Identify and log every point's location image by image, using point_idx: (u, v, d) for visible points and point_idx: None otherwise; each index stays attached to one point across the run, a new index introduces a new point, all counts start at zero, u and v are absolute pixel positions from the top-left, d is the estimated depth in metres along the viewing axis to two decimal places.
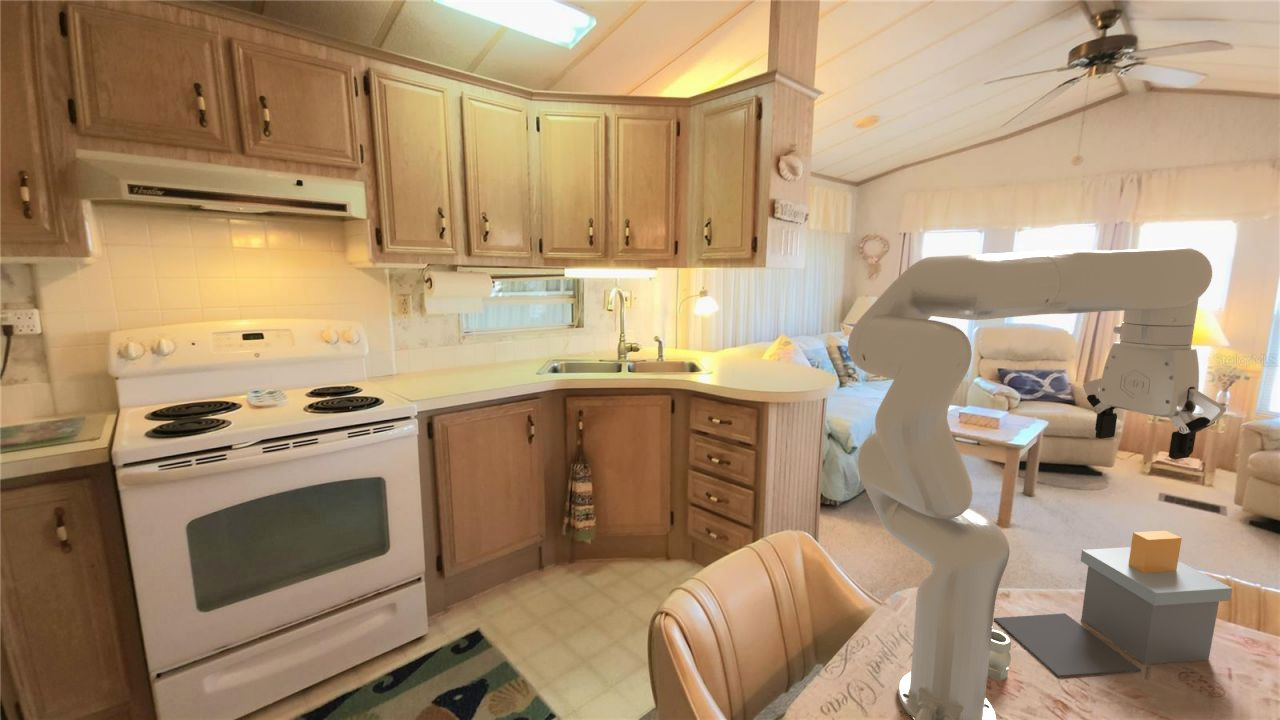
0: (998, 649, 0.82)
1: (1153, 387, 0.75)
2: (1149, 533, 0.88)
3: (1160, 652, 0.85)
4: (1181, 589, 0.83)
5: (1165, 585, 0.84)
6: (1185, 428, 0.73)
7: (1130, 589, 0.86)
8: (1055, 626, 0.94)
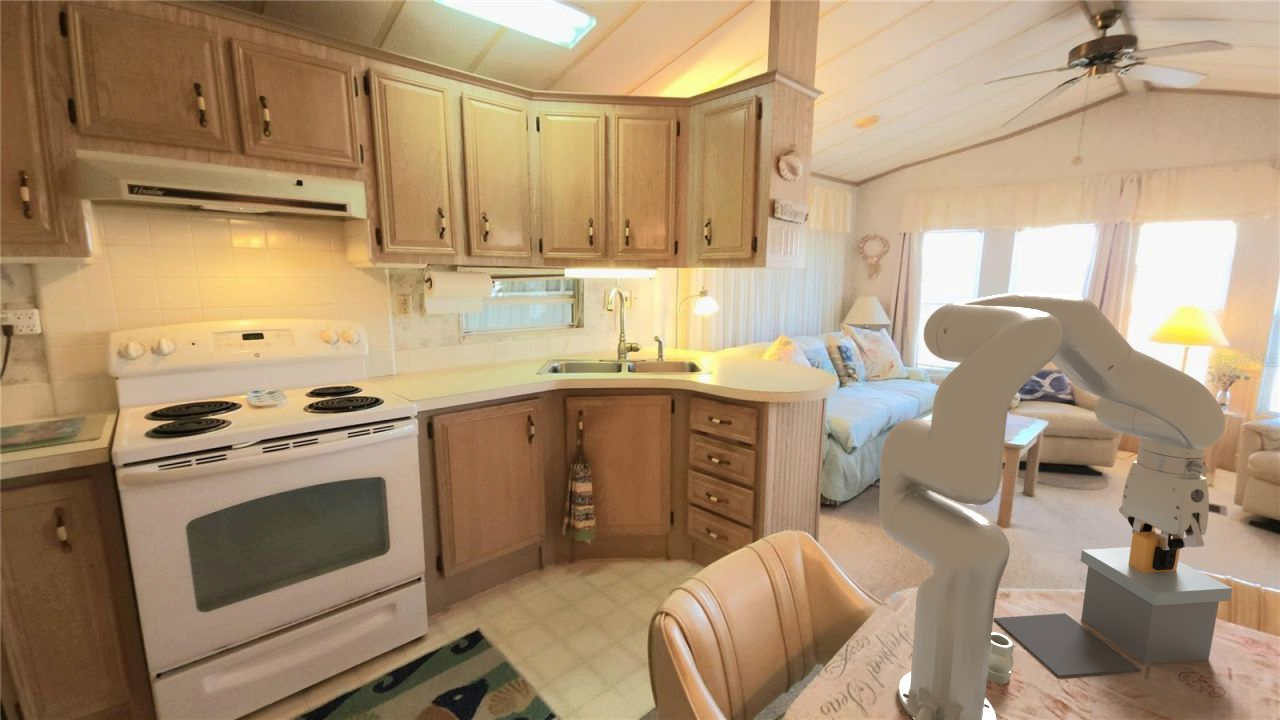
0: (1001, 652, 0.81)
1: None
2: (1149, 533, 0.88)
3: (1160, 652, 0.85)
4: (1181, 589, 0.83)
5: (1165, 585, 0.84)
6: None
7: (1130, 589, 0.86)
8: (1055, 626, 0.94)
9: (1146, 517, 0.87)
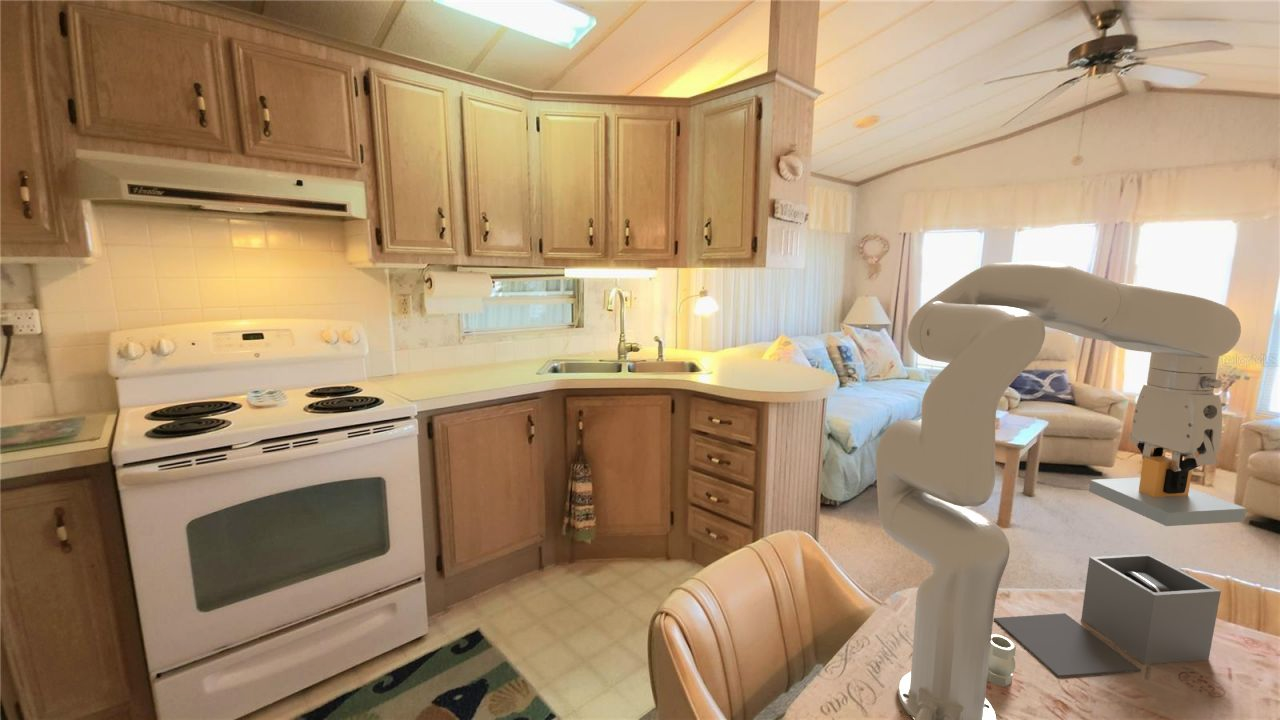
0: (1003, 655, 0.81)
1: None
2: (1160, 457, 0.86)
3: (1160, 652, 0.85)
4: (1194, 509, 0.81)
5: (1177, 506, 0.82)
6: None
7: (1141, 513, 0.84)
8: (1055, 626, 0.94)
9: (1157, 439, 0.85)
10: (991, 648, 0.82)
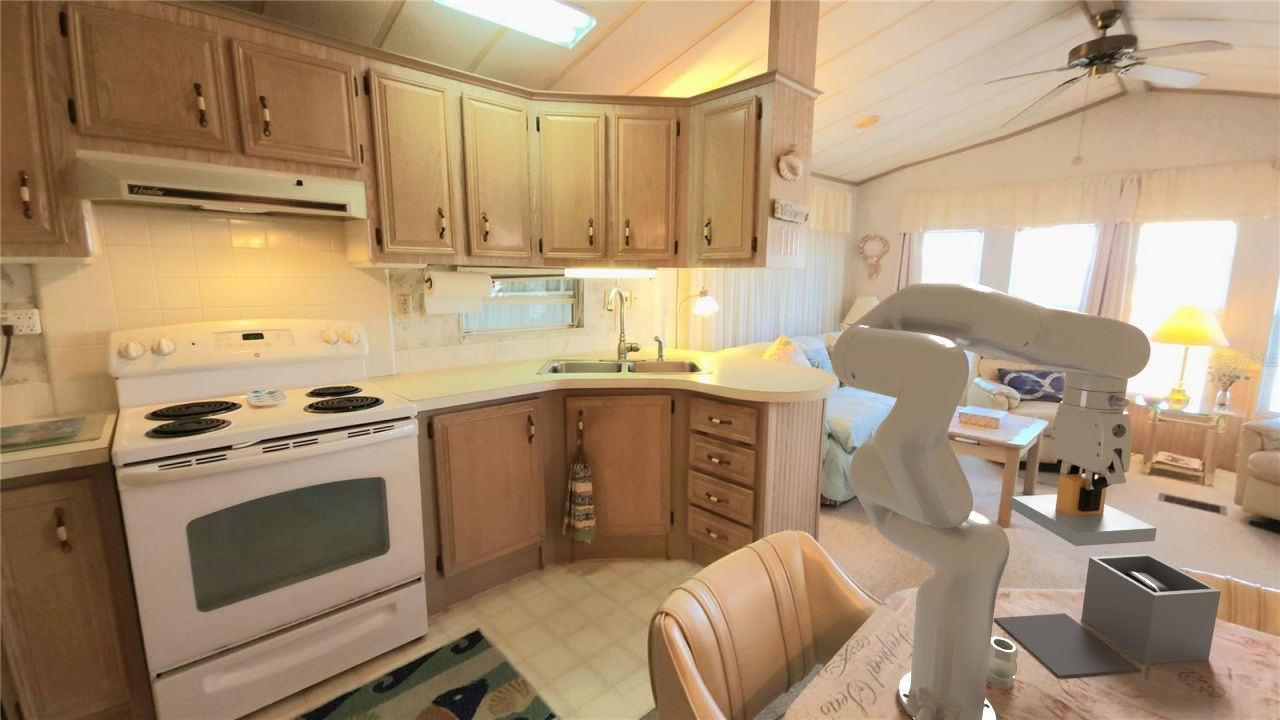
0: (1005, 657, 0.80)
1: None
2: (1075, 475, 0.86)
3: (1160, 652, 0.85)
4: (1104, 529, 0.80)
5: (1088, 526, 0.81)
6: None
7: (1054, 532, 0.83)
8: (1055, 626, 0.94)
9: (1071, 457, 0.85)
10: (993, 650, 0.81)
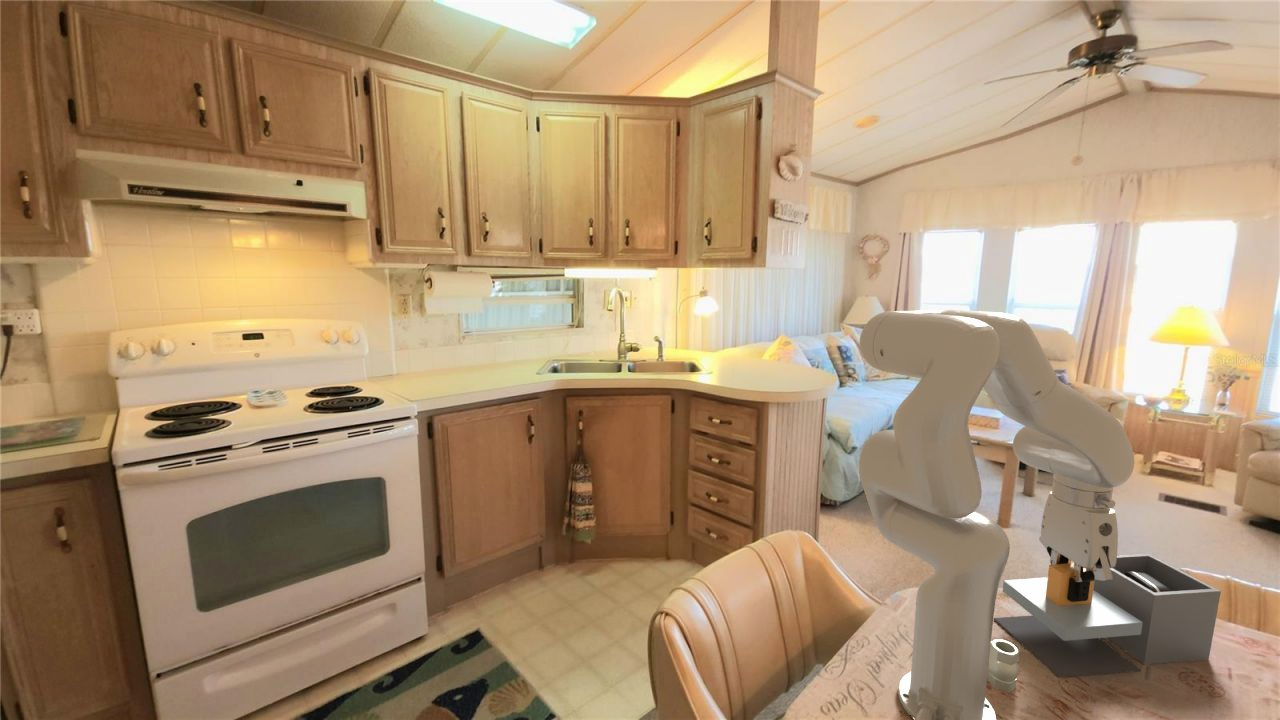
0: (1007, 660, 0.80)
1: None
2: (1065, 565, 0.89)
3: (1160, 652, 0.85)
4: (1091, 624, 0.83)
5: (1076, 619, 0.84)
6: None
7: (1044, 623, 0.86)
8: None
9: (1061, 548, 0.87)
10: (995, 653, 0.81)
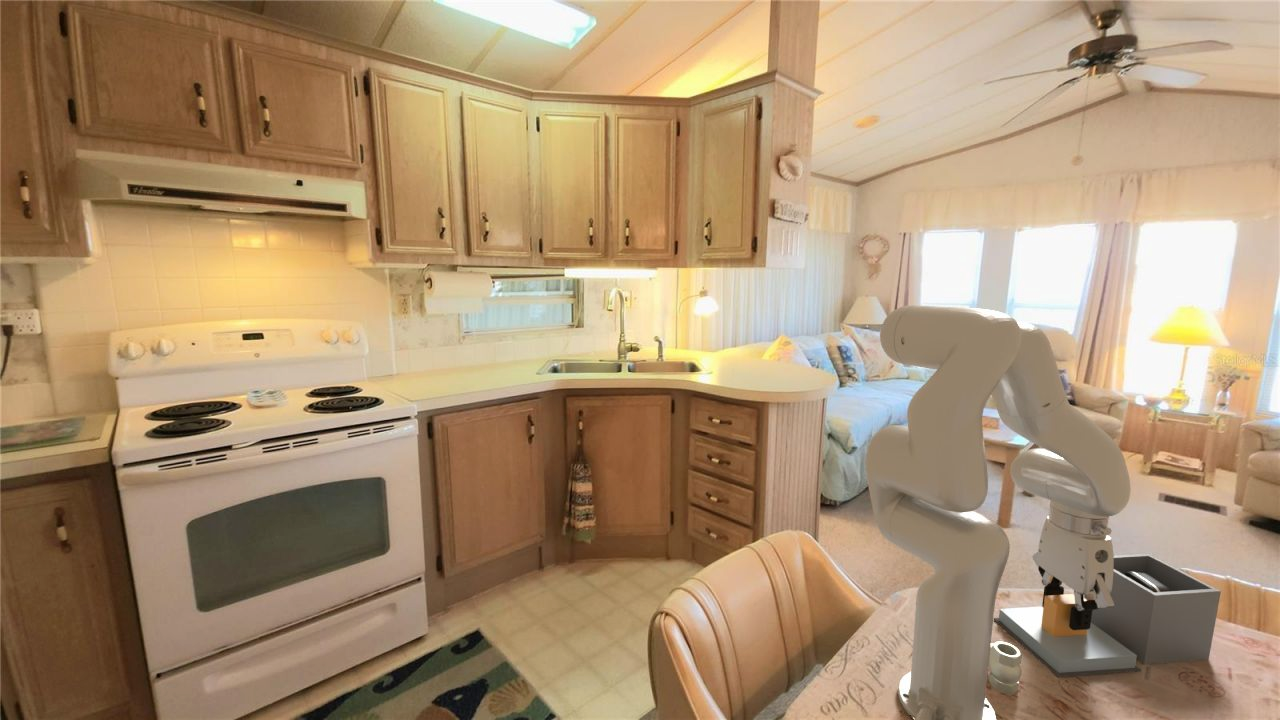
0: (1009, 662, 0.79)
1: None
2: (1060, 597, 0.89)
3: (1160, 652, 0.85)
4: (1086, 656, 0.84)
5: (1071, 651, 0.85)
6: None
7: (1039, 654, 0.87)
8: None
9: (1057, 573, 0.88)
10: (997, 656, 0.80)
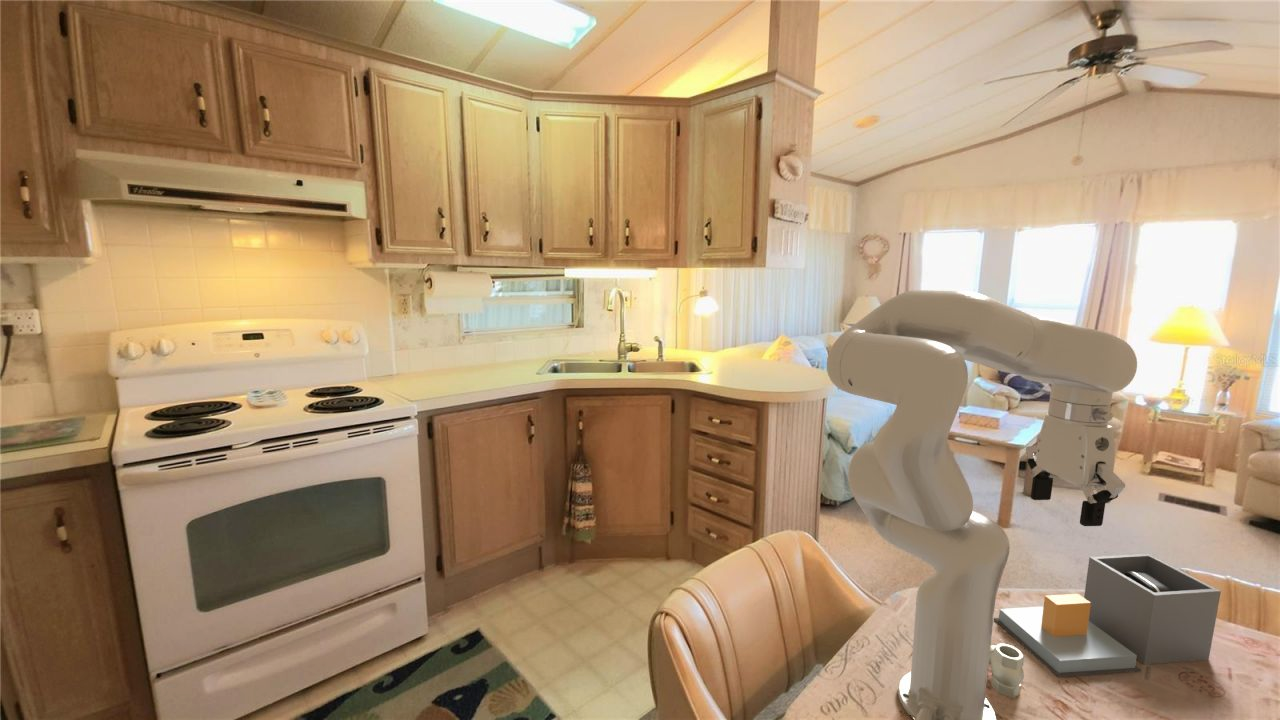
0: (1011, 665, 0.79)
1: None
2: (1060, 597, 0.89)
3: (1160, 652, 0.85)
4: (1086, 656, 0.84)
5: (1071, 651, 0.85)
6: None
7: (1039, 654, 0.87)
8: None
9: (1056, 469, 0.85)
10: (999, 658, 0.80)
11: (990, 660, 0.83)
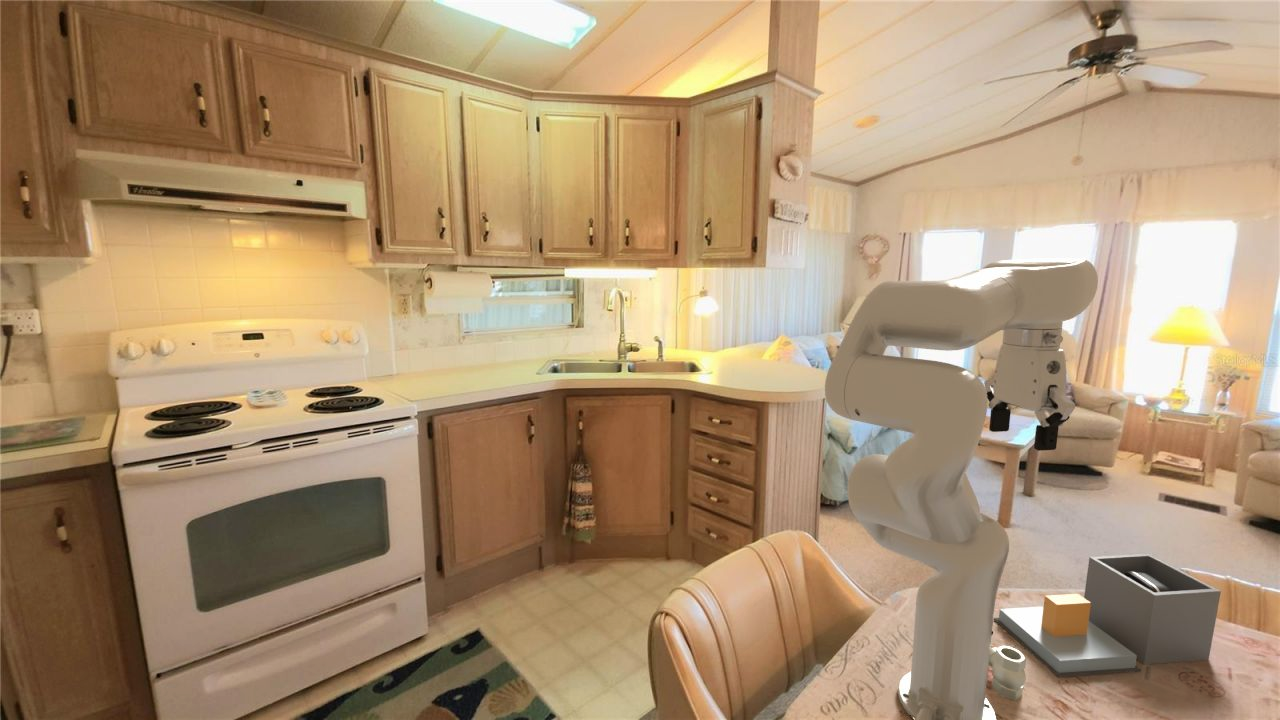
0: (1013, 667, 0.78)
1: None
2: (1060, 597, 0.89)
3: (1160, 652, 0.85)
4: (1086, 656, 0.84)
5: (1071, 651, 0.85)
6: None
7: (1039, 654, 0.87)
8: None
9: (1011, 398, 0.86)
10: (1001, 660, 0.79)
11: (992, 662, 0.82)
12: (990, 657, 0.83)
